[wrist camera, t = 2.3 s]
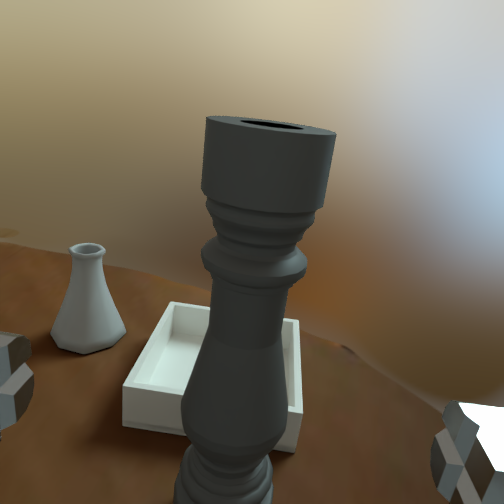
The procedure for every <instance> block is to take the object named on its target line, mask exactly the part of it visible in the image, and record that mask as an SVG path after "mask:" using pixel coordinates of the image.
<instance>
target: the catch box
mask: <svg viewBox="0 0 504 504" xmlns="http://www.w3.org/2000/svg"><path fill="white" fill-rule="evenodd" d="M209 315H210V307H205V306H198V305H191V304H184V303H177V302H170V304H169V305H168V307H167V309H166V311H165V312H164V314H163V316H162V318H161V319H160V321H159V323H158V325H157V326H156V328H155V330H154V332H153V333H152V335H151V337H150V339H149V340H148V342H147V344H146V346H145V347H144V349H143V351H142V353H141V354H140V356H139V358H138V360H137V361H136V363H135V365H134V367H133V368H132V370H131V372H130V374H129V375H128V377H127V379H126V381H125V382H124V384H123V399H122V426H126V427H132V428H139V429H145V430H151V431H158V432H164V433H170V434H177V435H183V436H187V435H186V434H185V432H184V429H183V425H182V417H181V400H182V397H183V394H184V391H185V389H186V386H187V383H188V381H189V378H190V375H191V373H192V370H193V367H194V364H195V362H196V359H197V356H198V353H199V351H200V348H201V345H202V342H203V340H204V337H205V334H206V331H207V328H208V325H209ZM281 334H282V345H283V356H284V367H285V378H286V388H287V398H288V416H287V424H286V430H285V432H284V434H283V435H282V437H281V439H280V440H279V441H278V443H277V444H276V445H275V447H274V448H273V450H278V451H285V452H291V453H295V449H296V445H297V440H298V435H299V430H300V425H301V420H302V416H303V404H302V382H301V359H300V337H299V320H293V319H287V318H284V319H283V325H282V331H281Z"/></svg>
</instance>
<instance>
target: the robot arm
mask: <svg viewBox="0 0 504 504" xmlns="http://www.w3.org/2000/svg"><path fill="white" fill-rule="evenodd" d="M31 355H32V353H31V346H30V340H29V339H27V338H26V337H25V336H23V335H18V334H12V333H6V332H0V441H1V430H2V429H4V428H6V427H8V426H10V425H12V424H14V423H16V422H17V421H18V420H19V419H20V417H21V416H22V415H23V414H24V412H25V411H26V409H27V407H28V405H29V403H30V400H31V398H32V396H33V389H34V374H33V372H32V371H31V370H30V368H29V367H28V366H27V365H26V363H25V362H26V361H27V360H28V358H29V357H30V356H31ZM442 419H443V421H444V423H445V425H446V427H447V428H445V429H444V430H442V431H441V432H439V433H438V434H436V435H435V438H434V441H433V444H432V447H431V461H430V465H431V471H432V477H433V480H434V482H435V485H436V488H437V490H438V491H439V492H440V493H441V494H442V495H443V496H444V497H445V498H446V499H447V500H448V501H449V504H504V408H500V407H493V406H487V405H479V404H472V403H466V402H459V401H452V400H451V401H450V402H449V403H448V404H447V406H446V407H445V410H444V412H443V415H442Z"/></svg>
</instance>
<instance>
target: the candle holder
mask: <svg viewBox="0 0 504 504" xmlns="http://www.w3.org/2000/svg"><path fill="white" fill-rule="evenodd" d="M335 139H336V133H335V132H332V131H329V130H325V129H320V128H315V127H310V126H305V125H298V124H292V123H285V122H277V121H271V120H262V119H253V118H243V117H230V116H209V117H206V130H205V142H204V156H203V169H202V182H201V189H202V191H203V193H204V195H206V196H207V201H206V207H207V210H208V211H209V213H210V215H211V217H212V219H213V226H214V228H215V230H216V232H217V236H216V237H214V238H212V239H210V240H209V241H208V242H207V243H206V244H205V245H204V247H203V248H202V249H201V258H202V261H203V264H204V267H205V269H206V270H208V271H209V272H210V274H211V276H212V279H213V284H212V293H211V304H210V315H209V325H208V328H207V331H206V334H205V337H204V340H203V342H202V345H201V348H200V351H199V353H198V356H197V359H196V362H195V364H194V367H193V370H192V373H191V375H190V378H189V381H188V383H187V386H186V389H185V391H184V394H183V397H182V400H181V417H182V425H183V429H184V432H185V434H186V435H187V437H188V438H189V440H190V441H191V443H192V444H191V445H190V446H189V447H188V448H187V449H186V451H185V454H184V456H183V459H182V462H181V464H180V470H179V473H178V476H177V478H176V481H175V486H174V500H173V504H272V498H273V489H274V487H273V484H272V474H273V467H272V465H271V462H270V459H269V456H268V453H270V452H271V451H272V450H273V448H274V447H275V445H276V444H277V443H278V441H279V440H280V439H281V437H282V435H283V434H284V432H285V430H286V424H287V416H288V398H287V388H286V378H285V367H284V356H283V345H282V334H281V331H282V325H283V319H284V313H285V306H286V301H287V295H288V289H289V288H290V287H292V286H293V284H294V283H296V282H297V281H298V280H300V279H301V278H302V277H304V275H305V273H306V268H307V258H306V257H305V255H304V254H303V253H302V252H301V251H300V250H299V249H298V248H297V247H296V246H295V245H296V243H297V242H298V241H300V240H301V239H302V236H303V234H304V232H305V231H306V230H307V229H308V228H309V227H310V226H311V225H312V224H313V223H314V219H315V211H316V210H317V209H319V208H322V207H323V204H324V198H325V193H326V187H327V182H328V177H329V171H330V166H331V160H332V155H333V150H334V144H335Z"/></svg>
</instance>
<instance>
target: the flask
mask: <svg viewBox="0 0 504 504" xmlns="http://www.w3.org/2000/svg"><path fill="white" fill-rule="evenodd" d="M69 253H70V254H71V255H72V273H71V279H70V284H69V287H68V289H67V292H66V295H65V298H64V300H63V303H62V306H61V308H60V311H59V313H58V315H57V318H56V320H55V323H54V325H53V328H52V330H51V333H50V334H51V336H52V338H53V339H54V341H55V342H56V344H57V346H58V347H59V348H62V349H66V350H70V351H73V352H77V353H81V354H87V353H91V352H94V351H97V350H101V349H104V348H108V347H111V346H113V345H114V344H115V343H116V342H117V341H118V340H119V339H120V338H121V337H122V336H123V335H124V334H125V333H126V332H127V331H126V329H125V327H124V324H123V322H122V320H121V318H120V316H119V313H118V311H117V309H116V307H115V305H114V302H113V300H112V297H111V295H110V292H109V290H108V288H107V285H106V282H105V277H104V273H103V269H102V255H104V254H105V249H104V248H103V247H102V246H101V245H98V244H93V243H84V244H77V245H74V246H72V247H70V248H69Z"/></svg>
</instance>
